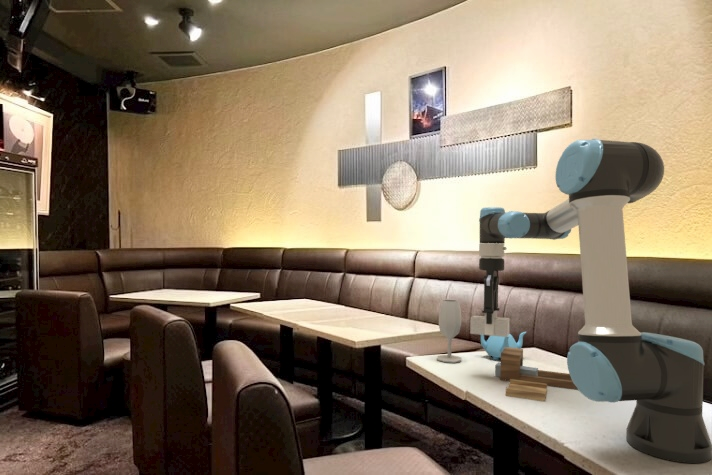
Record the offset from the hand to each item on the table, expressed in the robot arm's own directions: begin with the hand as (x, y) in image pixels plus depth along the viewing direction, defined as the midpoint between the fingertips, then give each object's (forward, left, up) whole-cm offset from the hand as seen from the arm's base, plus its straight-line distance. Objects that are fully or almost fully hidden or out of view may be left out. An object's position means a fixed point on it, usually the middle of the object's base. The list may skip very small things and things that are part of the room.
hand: (490, 333), depth 151 cm
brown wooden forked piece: (+4, -15, -14) cm, 21 cm away
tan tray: (-11, -12, -14) cm, 21 cm away
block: (0, 0, 0) cm, 0 cm away
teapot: (+27, 0, -14) cm, 31 cm away
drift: (+4, -7, -14) cm, 16 cm away
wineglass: (+15, +16, -14) cm, 26 cm away
